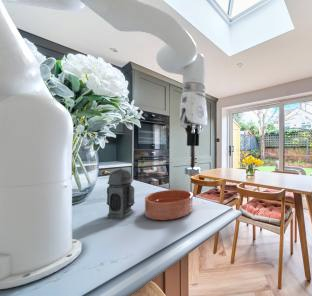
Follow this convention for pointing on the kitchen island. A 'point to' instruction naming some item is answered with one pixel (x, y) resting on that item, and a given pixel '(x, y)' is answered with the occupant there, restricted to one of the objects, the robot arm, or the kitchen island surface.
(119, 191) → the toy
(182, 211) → the bowl
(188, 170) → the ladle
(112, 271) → the kitchen island surface
